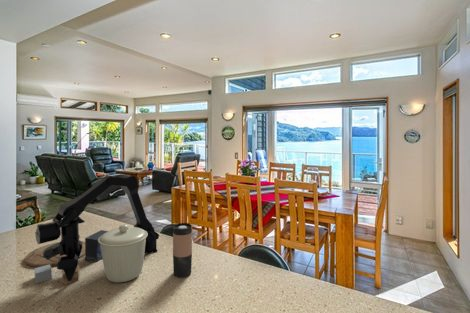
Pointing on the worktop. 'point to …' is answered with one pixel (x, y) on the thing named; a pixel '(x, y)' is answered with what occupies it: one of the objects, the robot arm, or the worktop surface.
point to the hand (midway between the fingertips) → (71, 274)
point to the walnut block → (75, 276)
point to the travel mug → (182, 249)
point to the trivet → (37, 258)
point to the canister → (123, 252)
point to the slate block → (43, 273)
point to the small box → (93, 247)
